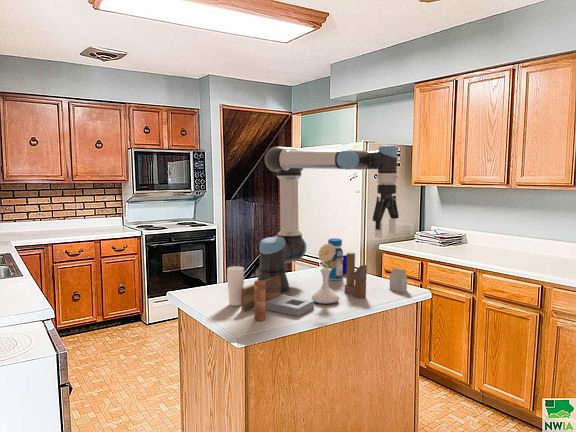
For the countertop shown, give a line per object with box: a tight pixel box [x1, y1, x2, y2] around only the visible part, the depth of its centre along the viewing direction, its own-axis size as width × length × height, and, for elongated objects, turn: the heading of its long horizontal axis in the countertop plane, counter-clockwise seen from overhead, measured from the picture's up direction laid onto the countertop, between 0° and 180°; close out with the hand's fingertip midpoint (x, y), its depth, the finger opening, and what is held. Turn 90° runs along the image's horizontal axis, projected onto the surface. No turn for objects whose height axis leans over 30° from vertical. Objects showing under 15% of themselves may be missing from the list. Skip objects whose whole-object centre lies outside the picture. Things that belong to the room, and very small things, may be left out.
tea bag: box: [389, 266, 408, 293], centre depth 202 cm, size 4×7×10 cm, turn 38°
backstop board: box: [240, 276, 282, 312], centre depth 182 cm, size 2×24×9 cm, turn 146°
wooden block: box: [343, 252, 368, 299], centre depth 194 cm, size 4×11×18 cm, turn 30°
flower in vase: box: [311, 243, 340, 305], centre depth 183 cm, size 13×11×25 cm
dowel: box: [253, 279, 266, 322], centre depth 162 cm, size 4×4×14 cm
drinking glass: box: [226, 266, 245, 307], centre depth 180 cm, size 7×7×15 cm
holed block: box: [265, 294, 315, 317], centre depth 174 cm, size 15×12×3 cm
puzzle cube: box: [322, 252, 347, 275], centre depth 238 cm, size 10×10×10 cm
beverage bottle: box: [327, 238, 344, 281], centre depth 223 cm, size 8×8×20 cm
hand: (385, 235), depth 184 cm, fingers open, 13 cm apart
